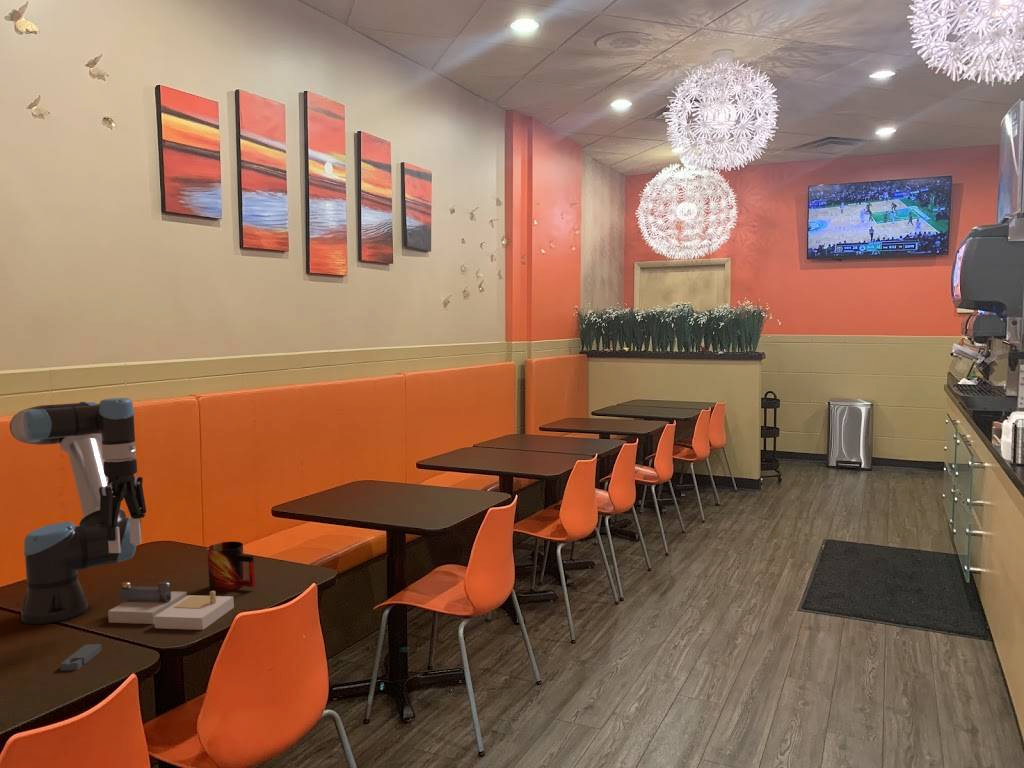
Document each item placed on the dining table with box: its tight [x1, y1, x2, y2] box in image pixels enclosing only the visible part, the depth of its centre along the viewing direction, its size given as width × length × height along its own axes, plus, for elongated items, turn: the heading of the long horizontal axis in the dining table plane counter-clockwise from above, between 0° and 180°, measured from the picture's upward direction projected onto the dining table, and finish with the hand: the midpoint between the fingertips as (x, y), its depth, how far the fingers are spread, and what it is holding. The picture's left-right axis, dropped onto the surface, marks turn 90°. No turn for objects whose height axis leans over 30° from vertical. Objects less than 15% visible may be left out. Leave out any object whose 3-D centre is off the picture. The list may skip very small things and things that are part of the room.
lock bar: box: [119, 580, 172, 602], centre depth 199 cm, size 13×3×5 cm, turn 81°
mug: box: [206, 541, 256, 594], centre depth 218 cm, size 10×14×12 cm
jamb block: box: [107, 590, 188, 625], centre depth 200 cm, size 12×15×3 cm
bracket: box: [59, 643, 103, 671], centre depth 171 cm, size 4×10×2 cm, turn 1°
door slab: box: [153, 591, 235, 631], centre depth 195 cm, size 13×15×6 cm
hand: (125, 547), depth 193 cm, fingers open, 8 cm apart
